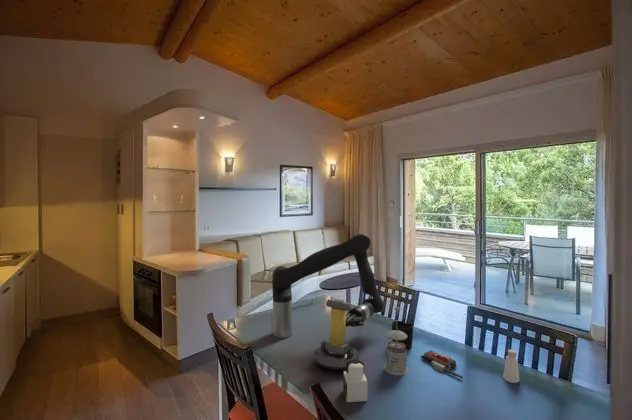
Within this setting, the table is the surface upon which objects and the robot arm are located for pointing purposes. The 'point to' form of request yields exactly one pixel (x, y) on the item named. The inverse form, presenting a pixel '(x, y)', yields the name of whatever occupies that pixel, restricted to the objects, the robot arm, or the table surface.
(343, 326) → the yellow mallet
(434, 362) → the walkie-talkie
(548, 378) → the table surface
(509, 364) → the pepper shaker
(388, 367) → the french press
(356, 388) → the medicine bottle
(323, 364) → the dark grey round stand
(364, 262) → the robot arm
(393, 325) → the pen holder
